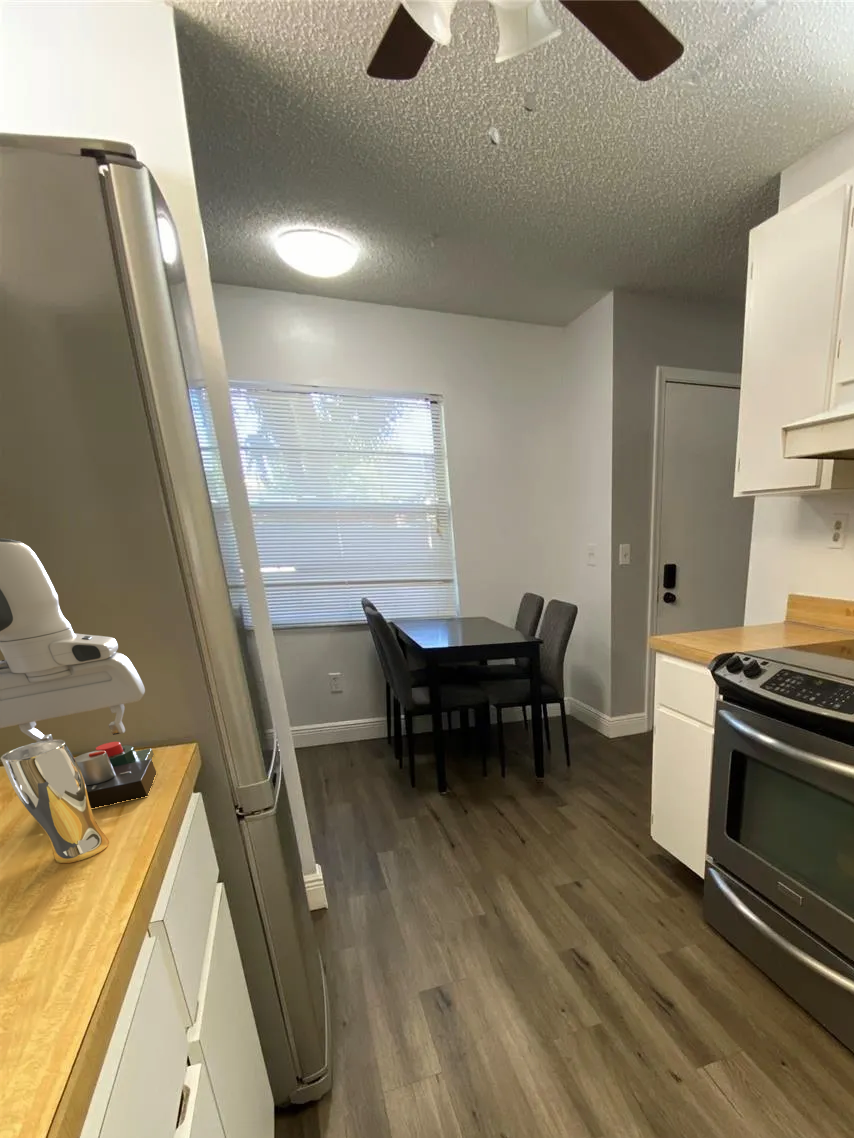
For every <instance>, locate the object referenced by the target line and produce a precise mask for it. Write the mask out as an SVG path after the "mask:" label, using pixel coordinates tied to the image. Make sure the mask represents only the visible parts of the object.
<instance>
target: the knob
mask: <svg viewBox="0 0 854 1138" xmlns="http://www.w3.org/2000/svg"><path fill="white" fill-rule="evenodd" d="M74 759H75V760H76V762H77V764H78V766H79V768H80V770H81V773H82V775H83V777H84V780H85V784H86V785H93V784H98V783H102V782H105V781H107V780H110V779H112V778H113V777H114V776H115V775H116V774H115V771H114V769H113V767H112V764H111V762H110V760H109V758H108V755H107V753H106V751H96V750H94V751H93V750H92V751H89V752H85V753H82V754H80V755H77V756H76V757H74Z"/></svg>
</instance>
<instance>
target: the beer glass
mask: <svg viewBox="0 0 854 1138" xmlns="http://www.w3.org/2000/svg"><path fill="white" fill-rule="evenodd" d="M74 758H75V757H74V755H73V753H72V752H71V750H70V749H69V747H68V745H67V743H66V740H64V739H52V740H47V741H41V742H37V741H36V742H32V743H29V744H25V745H22V746H19V747H16V748H14V749H12V750H11V749H10V750H9V751H6V752H5V753H3V754H2V755H1V757H0V760H1V762H2V765H3V767H4V770H5V772H6V775H7V777H8V780H9V782H10V784H11V786H12V789H13V790H14V792H15V794H16V795H17V797H18V799H19V800H20V802H21V804H22V805H23V806H24V808H25V809H26V810H27V811H28V812H29V814H30V815H31V816H32V817H33V818H34V820H35V821H36V822H37V823H38V825H39V826H40V827H41V828H42V830H43V831H44V832H45V835H46V836H47V838H48V840H49V842H50V845H51V846H50V847H51V850H52V854H53V857H54V860H55V861H56V862H57V863H60V864H72V863H76V862H79V861H84V860H86V859H89V858H92V857H94V856H96V855H97V854H99V853H101V852H102V851H104V850H105V849H106V848H107V847H108V846H109V845H110V840H109V838H108V837H107V835H106V834H105V833H104V831H103V830H102V829H101V827H100V826H99V824H98V823H97V820H96V818H95V816H94V812H93V810H92V809H91V804H90V800H89V795H88V791H87V787H86V784H85V780H84V777H83V775H82V773H81V770H80V768H79V766H78V764H77V762H76V760H75V759H74ZM108 844H109V845H108Z"/></svg>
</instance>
